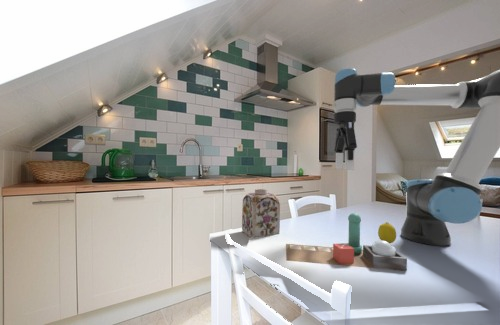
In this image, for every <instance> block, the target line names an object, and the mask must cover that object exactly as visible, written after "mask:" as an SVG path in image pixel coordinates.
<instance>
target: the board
mask: <svg viewBox="0 0 500 325" xmlns="http://www.w3.org/2000/svg"><path fill="white" fill-rule="evenodd" d="M285 253H286V254H285V258H286V261H288V262H298V263H310V264H321V265H332V266H333V265H335V266H342V267H343V266H345V267H355V268H368V269H376V270H377V269H378V270H381V269H382V270H388V271H389V270H391V271H399V272H404V271H407V270H408V268H407V267H408V258H406V256H404V255H402V254H401V252H399V251H397V250H396V249H395V257H393V256H380V255H375V254H374V253H373V252H372V245H369V244H367V245H364V244H363V245H362V254H359V255H356V254H354V263H344V264H340V263H339V262H338V261H337V260H335V259H334V258H333V246H332V247H331V246H321V245H320V246H319V245H309V244H306V245H305V244H295V243H294V244H292V243H285Z"/></svg>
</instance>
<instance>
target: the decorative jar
mask: <svg viewBox="0 0 500 325" xmlns="http://www.w3.org/2000/svg"><path fill="white" fill-rule="evenodd" d="M267 191H268V190H267V189H266V188H264V189H263V188H256V189H255V190H254V192H250V193H249V192H248V193H247V194H245V196H244V197H243V199H242V210H241V211H242V214H241V217H242V219H241V230H242V232H243V233H244V234H245V235H247V237H249V238H250V239H251V238H252V237H253V238H256V237H264V236H273V235H279V234H280V228H281V202H280V200H279V198H278V197H277V195H276V194H273V193H269V192H267Z"/></svg>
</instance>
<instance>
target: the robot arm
mask: <svg viewBox="0 0 500 325" xmlns="http://www.w3.org/2000/svg"><path fill="white" fill-rule="evenodd" d="M333 101H334V103H333V104H332V107H334V108H333V109H334V111H333V112H334V114H333V124H335V125H339V127H337V128H336V137H335V143H334V153H335V169H336V170H343V169H344V170H345V171H354V170H355V150H356V149H357V148H358V145H357V139H356V133H355V123H356V121H357V112H356V111H357V106H359V107H361V108H366V107H369V106H371V105H373V106H377V105H378V106H379V105H380V106H383V105H384V106H386V105H387V106H450V107H451V108H452V109H468V110H469V109H470V110H471V109H473V110H474V109H475V110H479V111H478V113H477V115H476V116H475V118H474V119H473V122H472V123H471V125H470V126H469V129H468V131H467V133H466V134H465V136H464V137H463V140H462V141H461V143H460V145H459V147H458V148H457V150H456V151H455V154H454V156H453V157H452V159H451V161H450V162H449V164H448V166H447V168H446V169H445V171H444V172H443V173H438V174H436V176H435V178H434V179H410V180H408V182H407V186H406V216H405V220H404V223H403V224H402V227H401V228H400V234H401V237H403V238H405V239H407V240H409V241H413V242H416V243H420V244H424V245H430V246H443V247H444V246H450V245H451V244H452V242H451V240H452V238H451V235H450V232H449V230H448V227H447V224H446V223H450V224H456V225H457V224H458V225H459V224H466V223H470V222H472V221H473V220H475V219H476V218H477V217H478V216H479V215H480V214H481V212H482V209H483V202H481V198H480V197H481V196H480V195H481V194H482V192H483V189H482V188H481V185H480V182H481V180H482V178H483V177H484V175H485V173H487V172H486V171H487V170H488V169H489V167H490V165H491V163H492V161H493V159H494V158H495V157H496V154H497V153H498V151H499V149H500V69H499V70H495V71H493V72H492V73H490V74H488V75H485V76H483V77H481V78H478V79H474V80H470V81H460V82H458V83H456V84H416V85H415V84H414V85H413V84H412V85H411V84H410V85H408V84H407V85H396V76H395V73H393V72H379V73H367V74H358V72H357V70H356V69H355V68H351V67H349V68H343V69H340V70H339V71H337V72H336V74H335V75H334V100H333Z"/></svg>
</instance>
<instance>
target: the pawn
mask: <svg viewBox="0 0 500 325" xmlns="http://www.w3.org/2000/svg"><path fill="white" fill-rule="evenodd" d="M347 219H348V240H347V241H348V242H346V244H348V245H349V246H351V247H352V248H354V254H356V255H359V254H362V250H363V245H361V221H362V218H361V215H359V213H357V212H356V213H355V212H352V213H350V214H349V215H348V217H347Z"/></svg>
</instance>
